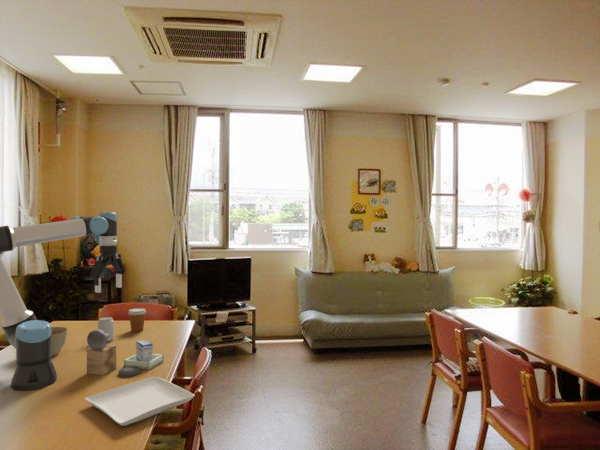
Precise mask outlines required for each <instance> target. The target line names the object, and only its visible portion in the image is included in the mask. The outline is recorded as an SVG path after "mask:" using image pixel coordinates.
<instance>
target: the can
mask: <svg viewBox="0 0 600 450" xmlns="http://www.w3.org/2000/svg"><path fill="white" fill-rule="evenodd" d="M114 326H115V321H114V319H113V317H112V316H105V317H101V318H99V319H98V321H97V330H98V329H99V330H102V331H104V332H105V334H107V333H108V334H109V335H110V336H109V338H107V343H109V342H112V341H113V340H114V338H115V334H114V333H115V327H114Z"/></svg>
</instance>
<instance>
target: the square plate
mask: <svg viewBox="0 0 600 450" xmlns="http://www.w3.org/2000/svg"><path fill="white" fill-rule="evenodd" d="M194 397H195V394H194V393H192V392H191V391H189V390H187V389H185V388H183V387H181V386H179V385H177V384H174V383H173V382H171V381H169V380H166V379H164V378H162V377H160V376H151V377H148V378H144V379H142V380H138V381H134V382H131V383H127V384H124V385H120V386H117V387H114V388H110V389H107V390H104V391H102V392H99V393H96V394H94V395H89V396H86V397H85V398H84V401H86V402H88V403H89V404H91V406H93V407H94V408H96V409H98V410H100V411H101V412H103V413H104V414H105V415H107V416H108V417H109V418H110V419H111V420H113V421H114V422H115V423H117V425H120V426H122V427H124V426H128V425H132V424H134V423H137V422H138V423H139V422H140V421H143V420H145V419H147V418H148V419H149V418H151V417H153V416H156V415H158V414H162V413H164V412H166V411H169V410H172V409H174V408H176V407H178V406H180V405H183V404H186V403H188V402H189V401H191V400H192V399H193V398H194Z"/></svg>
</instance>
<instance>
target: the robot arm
mask: <svg viewBox="0 0 600 450" xmlns="http://www.w3.org/2000/svg"><path fill="white" fill-rule="evenodd" d="M117 216H118V215H117V213H116V212H109V211H108V212H105V211H104V212H99V214H98V215H97V216H90V215H89V216H85V215H84V216H83V215H82V216H72V218H71V219H68V220H61V221H53V222H46V223H45V222H43V223H38V224H31V225H22V226H14V227H11V226H9V225H3V226H1V225H0V315H1V318H2V323H1V324H0V325H1V328H2V329H3V332H4V334H5V338H6V341H7V342H8V343H9V344H10V345H11V346H12V347H13V348H14V349H15V354H16V355H15V357H16V358H15V359H16V360H15V362H16V365H15V369H14V372H13V375H12V378H11V382H10V388H11V389H13V390H14V391H30V390H36V389H40V388H44V387H47V386H49V385H51V384H53V383H55V382H56V380H57V379H58V378H57V377H58V376H57V375H58V374H57V371H56V368H55V365H54V363H53V361H52V356H51V333H52V330H51V327H52V325H51V324H50V322H48V321H46V320H41V319H37V317H36V314H35V313H34V311H33V310H30V309H27V307H26V305H25V302H24V300H23V299H22V297H21V294H20V292H19V290H18V288H17V286H16V285H15V284H16V283H15V282H14V280H13V278H12V276H11V275H10V272H9V270H8V268H7V266H6V263H5V262H4V260H3V255H4V253H5V252H11V251H14V250H15V249H16V248H19V247H26V246H30V245H38V244H43V243H49V242H55V241H61V240H68V239H74V238H78V237H80V238H81V237H84V236H85V237H86V236H92V235H97V236H98V235H99V242H98V243H99V254H100V256H99V255H96V256H95V260H94V264H93V267H92V270H91V272H90V275H89V277H90V278H92V279H93V286H94V293H99V294H100V293H102V278H101V276H102V273H103V272H104V270H105V268H106V267H108V266H110V265H111V266H112V267H113V269H114V271H115V272H116V274H115V288H119V289H120V288H121V289H122V286H123V285H122V284H123V275H124V274H125V272H126V269H125V266H124V263H123V260H122V254H121V253H118V245H117V244H118V217H117Z"/></svg>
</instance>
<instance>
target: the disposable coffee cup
mask: <svg viewBox="0 0 600 450" xmlns="http://www.w3.org/2000/svg"><path fill="white" fill-rule="evenodd" d="M146 313H147V310H146V308H143V307H136V308H135V307H134V308H131V309H129V310H128V315H129V316H128V317H129V322H130V325H129V326H130V329H131V330H130V331H131V332H133V333H139V332H143V331H144V325H145V318H146V317H145V316H146Z"/></svg>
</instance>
